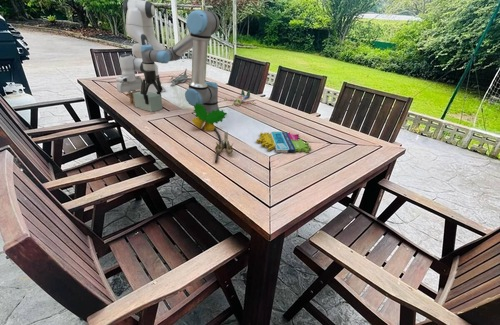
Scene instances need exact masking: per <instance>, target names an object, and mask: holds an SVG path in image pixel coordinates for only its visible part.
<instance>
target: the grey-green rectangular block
mask: <svg viewBox="0 0 500 325" xmlns="http://www.w3.org/2000/svg"><path fill="white" fill-rule="evenodd" d="M140 93H141V91H140V92H136V93H133V94H134V101H135V104H134V107H135V108H136V109H141V110H144V111H147V112H150V113H153V112H157V111H160V110H163V99H162V94H161V95H159V94H157V93H152V92H147V95H148V102H149V104H145V100H144V96H143V95H142V94H140Z"/></svg>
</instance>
